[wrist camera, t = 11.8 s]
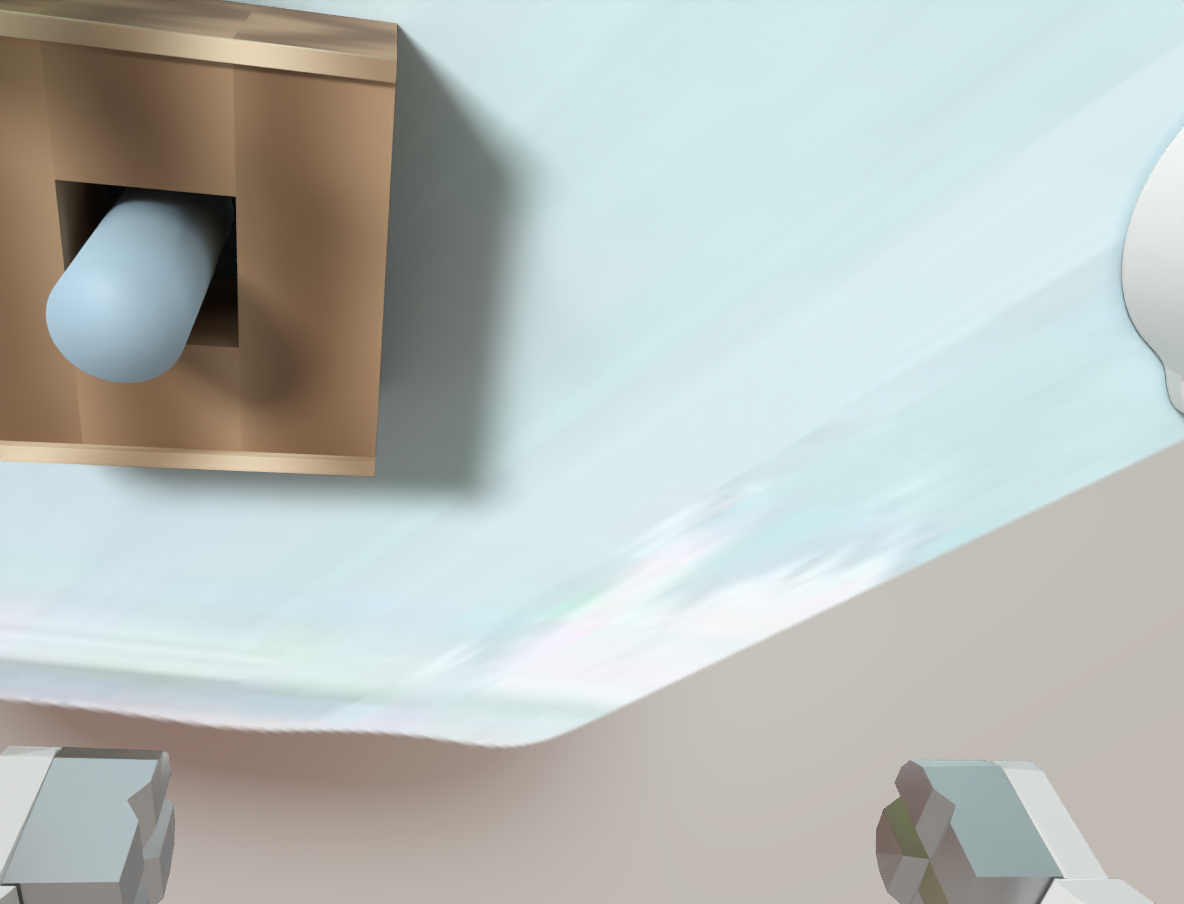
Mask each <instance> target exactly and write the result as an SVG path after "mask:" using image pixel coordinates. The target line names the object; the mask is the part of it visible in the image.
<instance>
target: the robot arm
mask: <svg viewBox="0 0 1184 904" xmlns="http://www.w3.org/2000/svg"><path fill="white" fill-rule="evenodd" d="M1122 285H1123V293H1124V298H1125V303H1126V306H1127V309H1128V312H1129V315H1130V317H1131V319H1132V322H1133V324H1134V325H1135V327H1136V329H1137V331H1138V332H1139V333H1140V335H1141V336H1142V338H1143V339H1144V340H1145V341H1146V342H1147V343H1148V344H1149V346H1150V347H1151V348H1152V349H1153V350H1154V351H1155V352H1156V353H1157V355H1158V356H1159V357H1160V359H1161V361H1162V362H1163V364H1164V367H1165V375H1166V382H1167V388H1168V393H1169V397H1170V400H1171V402H1172V404H1173V406H1174V407H1175V408H1176V409H1177V410H1179V411H1181V412H1182V413H1184V127H1183V128H1182V130H1181V131H1180V132H1179V133H1178V134H1177V136H1176V137H1175V138H1174V139H1173V141H1172V142H1171V143H1170V145H1169V146H1168V148H1167V149H1166V150H1165V152H1164V153H1163V155H1162V156H1161V158H1160V159H1159V161H1158V162H1157V164H1156V166H1155V167H1154V169H1153V171H1152V172H1151V174H1150V176H1149V178H1148V180H1147V182H1146V184H1145V185H1144V187H1143V189H1142V192H1141V194H1140V196H1139V198H1138V201H1137V203H1136V206H1135V208H1134V211H1133V214H1132V217H1131V220H1130V223H1129V226H1128V230H1127V234H1126V239H1125V244H1124V250H1123V259H1122ZM170 776H171V772H170V765H169V758H168V753H167V752H165V751H154V750H153V751H152V750H126V749H101V748H99V749H98V748H74V747H62V748H57V747H27V746H9V747H8V748H7V749H6V750H5V751H4V752H3V753H2V754H1V755H0V904H157V903H159V902H160V901H161V900H162V899H163V897H164V893H165V889H166V885H167V881H168V877H169V873H170V867H171V861H172V854H173V847H174V832H175V817H174V805H173V804H172V803H171V802H170V801H168V800H167V799H166V798H165V794H166V791H167V787H168V784H169V780H170ZM895 784H896V787H897V789H898V791H899V793H900V796H901V797H899V798H898V799H896V800H895V801H894V802H892V803H891V804H890V805H888V806H887V807H886V808H884V810H883V812H882V815H881V818H880V821H879V823H878V826H877V829H876V856H877V861H878V866H879V871H880V874H881V877H882V879H883V882H884V885H885V887H886V890H887V892H888V893H889V894H890V895H891V896H892V897H894V898H895V899H896V900H897V901H898V902H899V903H900V904H1155V903H1153V902H1152V901H1151V900H1149V899H1148V898H1147V897H1145V896H1144V895H1143V894H1141V893H1140V892H1139V891H1137V890H1136V889H1134V888H1133V887H1132V886H1130V885H1129V884H1128V883H1126V882H1125V881H1124V880H1122V879H1111V878H1109V877H1108V876H1107V874H1106V872H1105V871H1104V869H1103V867H1102V866H1101V864H1100V862H1099V861H1098V859H1097V858H1096V856H1095V855H1094V853H1093V851H1092V850H1091V848H1090V846H1089V845H1088V843H1087V841H1086V840H1085V838H1084V837H1083V835H1082V833H1081V832H1080V830H1079V829H1078V827H1077V825H1076V824H1075V822H1074V821H1073V819H1072V817H1071V815H1070V814H1069V812H1068V811H1067V809H1066V807H1065V806H1064V804H1063V803H1062V801H1061V799H1060V798H1059V796H1058V794H1057V793H1056V791H1055V790H1054V788H1053V786H1052V785H1051V783H1050V781H1049V780H1048V778H1047V777H1046V775H1045V773H1044V772H1043V770H1042V769H1041V768H1040V767H1039V766H1037V765H1036V764H1035V763H1033V762H1032V761H986V760H910V761H908V762H907V763H906V764H905V765H904V766H902V767H901V769H900V772H899V774H898V776H897V778H896V781H895Z"/></svg>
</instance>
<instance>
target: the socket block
mask: <svg viewBox="0 0 1184 904" xmlns="http://www.w3.org/2000/svg"><path fill="white" fill-rule="evenodd" d="M396 71H397V23H389V22H382V21H374V20H366V19H359V18H351V17H344V16H336V15H328V14H321V13H313V12H306V11H298V10H290V9H283V8H275V7H268V6H260V5H252V4H245V3H237V2H230V1H222V0H0V461H14V462H38V463H62V464H86V465H110V466H134V467H158V468H183V469H207V470H231V471H255V472H279V473H303V474H327V475H351V476H375V457H376V438H377V420H378V401H379V383H380V364H381V346H382V327H383V309H384V290H385V272H386V254H387V235H388V217H389V198H390V180H391V161H392V143H393V124H394V106H395V87H396ZM108 185H117V186H128V187H138V188H149V189H160V190H170V191H181V192H191V193H202V194H213V195H223V196H234V197H236V229H237V276H225V275H213V277H212V279H211V282H210V284H209V287H208V289H207V292H206V294H205V297H204V299H203V302H202V304H201V307H200V309H199V312H198V314H197V317H196V319H195V322H194V324H193V327H192V329H191V332H190V335H189V337H188V340H187V342H186V345H185V347H184V350H183V352H182V354H181V356H180V357H179V359H178V360H177V361H176V363H175V364H174V365H173V366H172V367H171V368H170V369H169V370H167V371H166V372H164V373H163V374H161V375H159V376H157V377H155V378H153V379H150V380H147V381H142V382H136V383H118V382H111V381H106V380H103V379H100V378H97V377H94V376H92V375H90V374H87V373H86V372H84V371H82V370H80V369H79V368H77V367H76V366H75V365H73V364H72V363H71V362H70V361H69V360H68V359H66V358H65V357H64V355H63V354H62V353H61V352H60V351H59V349H58V348H57V346H56V345H55V344H54V342H53V340H52V338H51V336H50V333H49V330H48V327H47V322H46V306H47V301H48V298H49V295H50V293H51V291H52V289H53V288H54V286H55V285H56V283H57V282H58V281H59V279H60V278H61V277H62V275H63V274H64V272H65V271H66V270H67V268H68V267H69V265H70V264H71V263H72V261H73V260H74V258H75V257H76V256H77V254H78V253H79V252H80V250H81V249H82V247H83V246H84V245H85V243H86V242H87V240H88V239H89V238H90V236H91V235H92V234H93V232H94V231H95V229H96V228H97V227H98V225H99V224H100V222H101V221H102V220H103V218H104V217H105V216H106V214H107V213H108V211H109V210H110V201H109V188H108Z"/></svg>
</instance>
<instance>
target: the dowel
mask: <svg viewBox="0 0 1184 904" xmlns="http://www.w3.org/2000/svg"><path fill="white" fill-rule="evenodd" d="M233 220H234V209H233V203H232V200H231V197H230V196H223V195H213V194H202V193H191V192H181V191H170V190H160V189H149V188H138V187H128V186H126V188H125V189H124V191H123V192H122V193H121V195H120V196H119V198H118V199H117V200H116V202H115V203H114V204H113V206H112V207H111V209H110V210H109V211H108V213H107V214H106V216H105V217H104V218H103V220H102V221H101V222H100V224H99V225H98V227H97V228H96V229H95V231H94V232H93V234H92V235H91V236H90V238H89V239H88V240H87V242H86V243H85V245H84V246H83V247H82V249H81V250H80V252H79V253H78V254H77V256H76V257H75V258H74V260H73V261H72V263H71V264H70V265H69V267H68V268H67V270H66V271H65V272H64V274H63V275H62V277H61V278H60V279H59V281H58V282H57V283H56V285H55V286H54V288H53V289H52V291H51V293H50V295H49V298H48V301H47V306H46V322H47V327H48V330H49V333H50V336H51V338H52V340H53V342H54V344H55V345H56V346H57V348H58V349H59V351H60V352H61V353H62V354H63V355H64V357H65V358H66V359H68V360H69V361H70V362H71V363H72V364H73V365H75V366H76V367H77V368H79V369H80V370H82V371H84V372H86V373H87V374H90V375H92V376H94V377H97V378H100V379H103V380H106V381H111V382H118V383H136V382H142V381H147V380H150V379H153V378H155V377H157V376H159V375H161V374H163V373H164V372H166V371H167V370H169V369H170V368H171V367H172V366H173V365H174V364H175V363H176V361H177V360H178V359H179V357H180V356H181V354H182V352H183V350H184V347H185V345H186V342H187V340H188V337H189V335H190V332H191V329H192V327H193V324H194V322H195V319H196V317H197V314H198V312H199V309H200V307H201V304H202V302H203V299H204V297H205V294H206V292H207V289H208V287H209V284H210V282H211V279H212V277H213V274H214V271H215V269H216V266H217V264H218V261H219V259H220V256H221V254H222V251H223V249H224V246H225V244H226V241H227V239H228V236H229V234H230V231H231V228H232V225H233Z"/></svg>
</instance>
